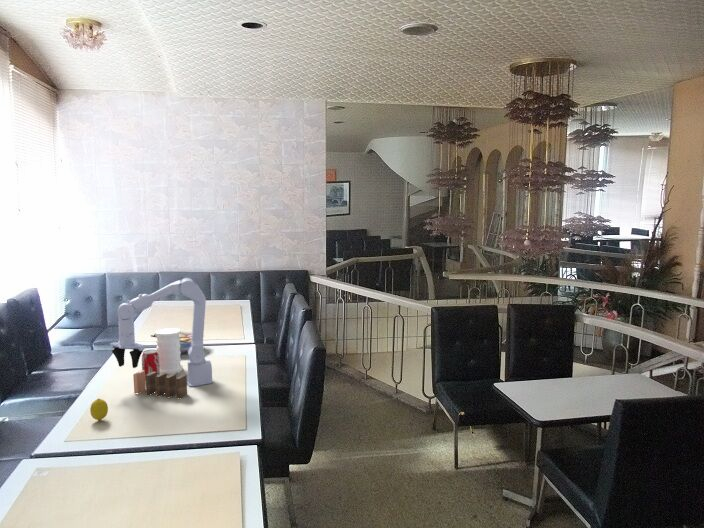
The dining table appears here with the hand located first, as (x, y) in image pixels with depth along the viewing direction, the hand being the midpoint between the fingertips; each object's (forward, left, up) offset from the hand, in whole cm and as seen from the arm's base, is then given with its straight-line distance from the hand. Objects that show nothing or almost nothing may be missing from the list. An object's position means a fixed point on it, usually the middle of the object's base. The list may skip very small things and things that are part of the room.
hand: (128, 366), depth 218 cm
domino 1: (-7, +7, -10) cm, 14 cm away
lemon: (+13, +27, -10) cm, 32 cm away
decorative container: (-19, -19, -10) cm, 29 cm away
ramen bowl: (-30, -48, -10) cm, 58 cm away
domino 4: (-17, +17, -10) cm, 26 cm away
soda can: (-10, -11, -10) cm, 18 cm away
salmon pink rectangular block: (-4, +4, -10) cm, 11 cm away
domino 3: (-14, +14, -10) cm, 22 cm away
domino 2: (-11, +11, -10) cm, 18 cm away
